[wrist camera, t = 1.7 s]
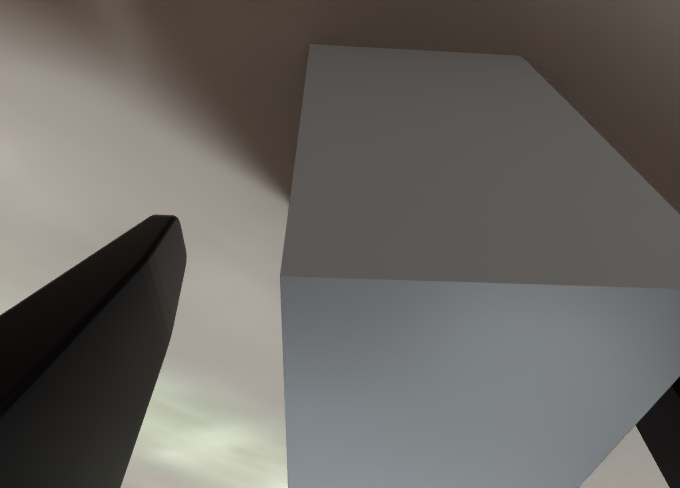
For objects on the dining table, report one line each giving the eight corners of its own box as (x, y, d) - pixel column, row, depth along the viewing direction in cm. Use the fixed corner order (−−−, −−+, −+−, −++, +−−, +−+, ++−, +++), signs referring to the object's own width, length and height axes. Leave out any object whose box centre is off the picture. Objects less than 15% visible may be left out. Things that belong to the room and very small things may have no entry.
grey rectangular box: (521, 55, 10) (757, 291, 4) (470, 223, 13) (574, 491, 7) (309, 43, 10) (279, 276, 4) (307, 217, 12) (288, 488, 7)
